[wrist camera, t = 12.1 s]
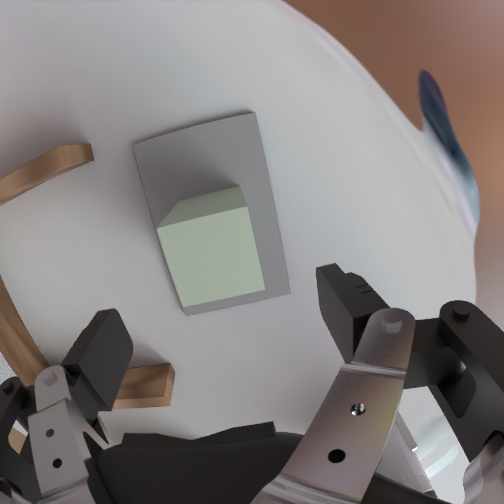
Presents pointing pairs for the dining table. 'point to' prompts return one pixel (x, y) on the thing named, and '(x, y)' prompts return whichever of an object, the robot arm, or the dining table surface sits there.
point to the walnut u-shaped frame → (14, 331)
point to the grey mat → (217, 189)
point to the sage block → (211, 247)
